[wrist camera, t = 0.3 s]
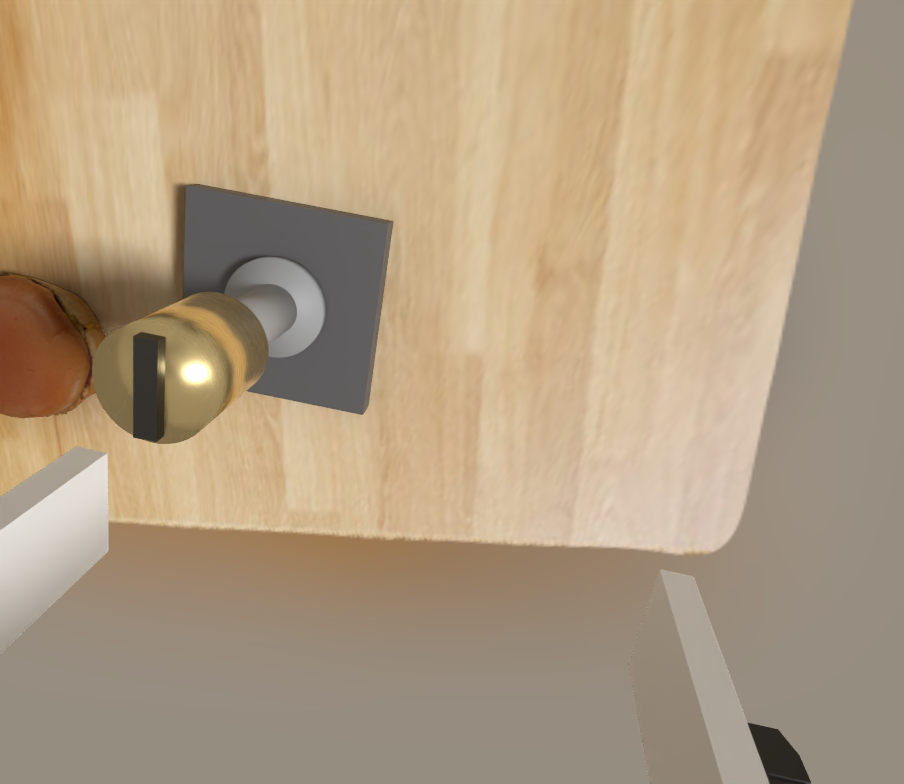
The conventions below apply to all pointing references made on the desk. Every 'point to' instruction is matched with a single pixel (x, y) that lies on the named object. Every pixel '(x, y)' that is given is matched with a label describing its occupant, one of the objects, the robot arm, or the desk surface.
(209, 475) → the desk surface
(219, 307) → the cap
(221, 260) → the post block
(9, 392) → the burger
